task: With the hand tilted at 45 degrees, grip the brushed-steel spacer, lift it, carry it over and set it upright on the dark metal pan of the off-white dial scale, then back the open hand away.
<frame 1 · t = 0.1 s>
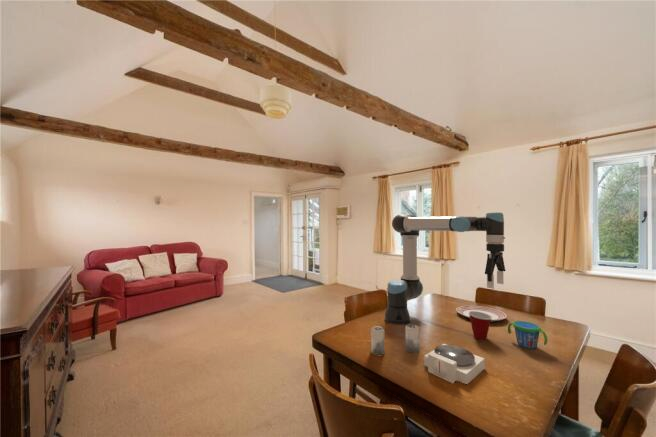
hand: (495, 285, 130), 28 cm above the table, tool pointing down, fingers open, 13 cm apart
scale: (454, 366, 108), on the table
dinner plate: (480, 317, 165), on the table
scale pan: (453, 354, 108), point 5 cm above the table, slide at -0.4 cm
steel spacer: (412, 350, 122), on the table
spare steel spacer: (377, 352, 120), on the table
snack cup: (526, 346, 126), on the table
plastic cup: (480, 337, 135), on the table
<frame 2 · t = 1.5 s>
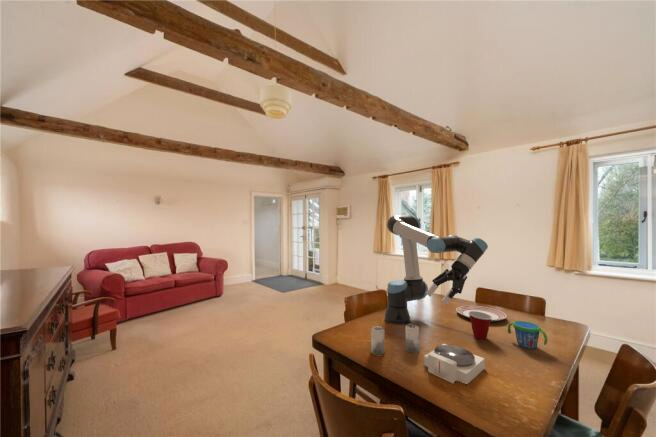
hand: (435, 298, 124), 24 cm above the table, tool tilted 45°, fingers open, 13 cm apart
nothing on the table moved.
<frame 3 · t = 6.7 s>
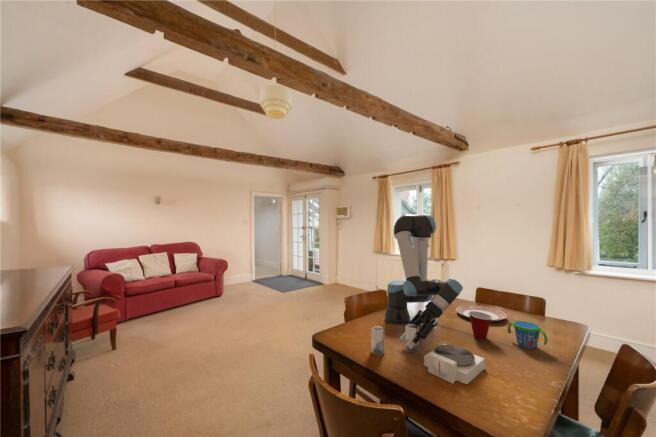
hand: (405, 343, 122), 3 cm above the table, tool tilted 45°, fingers closed on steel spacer, 6 cm apart
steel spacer: (412, 350, 122), on the table, touching gripper
everything else where it was.
when the fingers open (11 cm above the table, at t = 12.1 s): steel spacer drops 2 cm, resting on scale pan.
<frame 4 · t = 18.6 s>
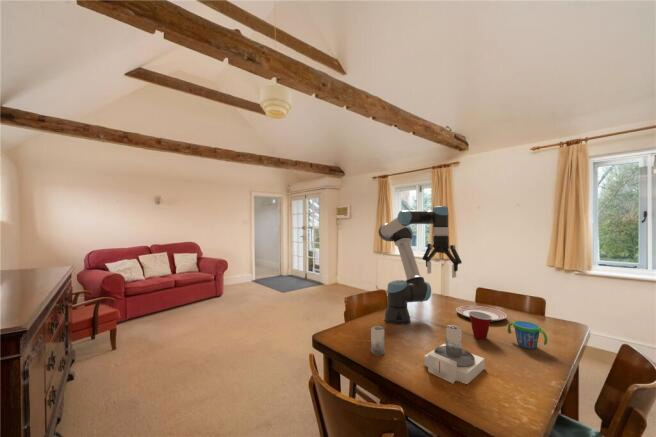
hand: (441, 275, 138), 32 cm above the table, tool pointing down, fingers open, 13 cm apart
scale pan: (453, 355, 108), point 5 cm above the table, slide at -0.8 cm, touching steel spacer
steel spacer: (453, 354, 108), point 5 cm above the table, touching scale pan
everything else where it was.
at the end: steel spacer inside the target area on the scale (0.1 cm from its centre), point 5.1 cm above the scale's base; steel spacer tilted 0°; the gripper is holding nothing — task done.
